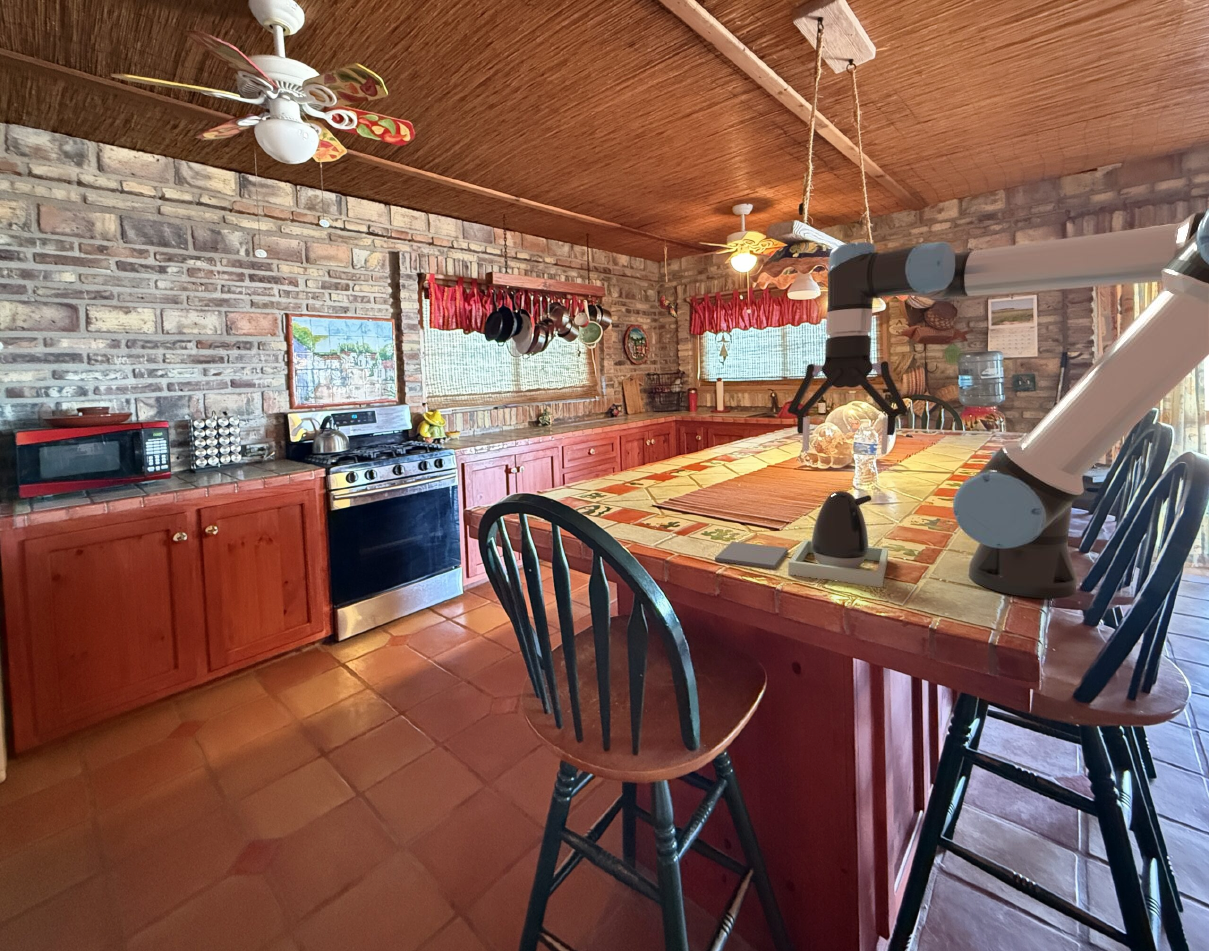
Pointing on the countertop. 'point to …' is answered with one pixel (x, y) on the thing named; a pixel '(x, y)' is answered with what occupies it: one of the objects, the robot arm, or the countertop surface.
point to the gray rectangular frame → (836, 572)
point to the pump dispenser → (841, 531)
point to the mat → (752, 555)
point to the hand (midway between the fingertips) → (843, 452)
